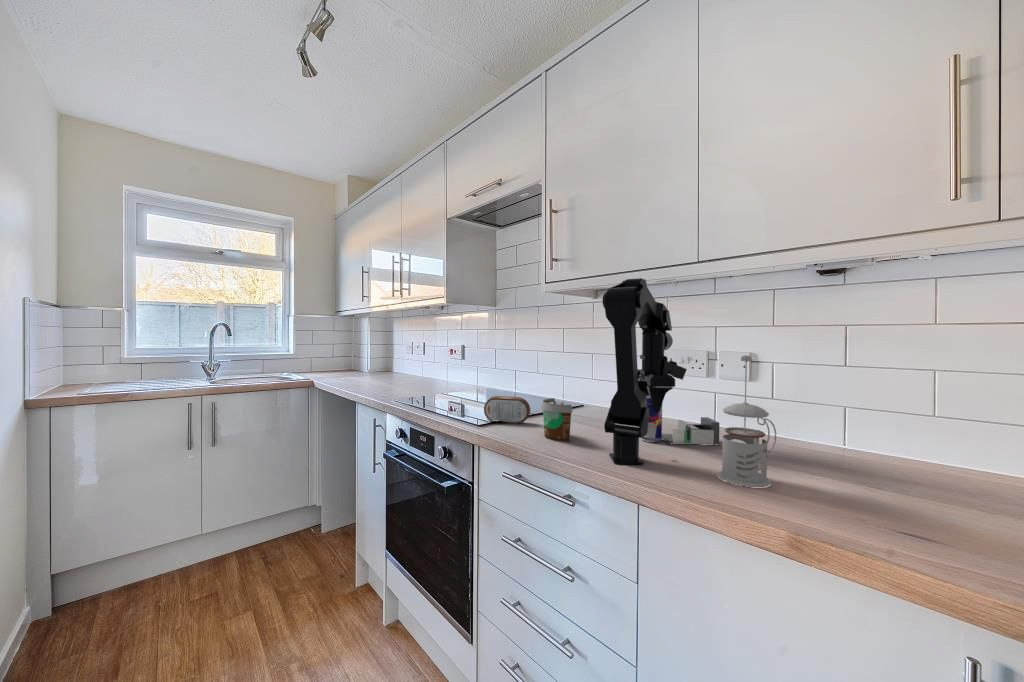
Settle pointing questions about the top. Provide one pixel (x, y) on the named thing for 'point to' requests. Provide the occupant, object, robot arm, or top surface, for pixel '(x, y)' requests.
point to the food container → (556, 420)
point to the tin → (507, 409)
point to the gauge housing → (696, 433)
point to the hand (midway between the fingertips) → (652, 408)
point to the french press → (745, 446)
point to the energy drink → (653, 424)
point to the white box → (686, 427)
